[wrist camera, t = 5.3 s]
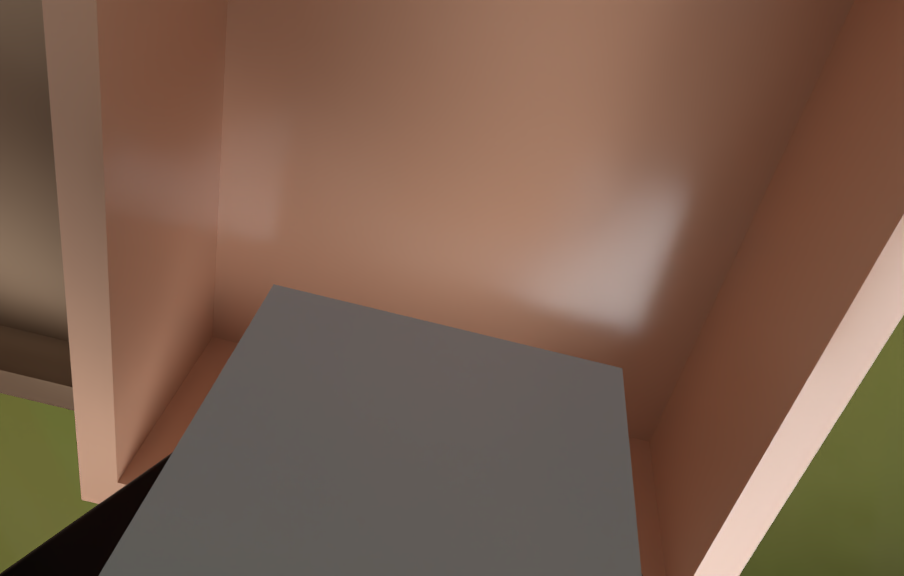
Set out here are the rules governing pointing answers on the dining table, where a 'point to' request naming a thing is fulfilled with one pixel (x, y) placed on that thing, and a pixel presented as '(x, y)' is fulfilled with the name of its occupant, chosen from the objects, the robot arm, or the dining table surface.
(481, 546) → the pale grey matte cube
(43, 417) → the dining table surface
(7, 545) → the dining table surface
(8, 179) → the parts tray
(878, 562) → the dining table surface
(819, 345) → the pink storage bin
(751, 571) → the dining table surface
